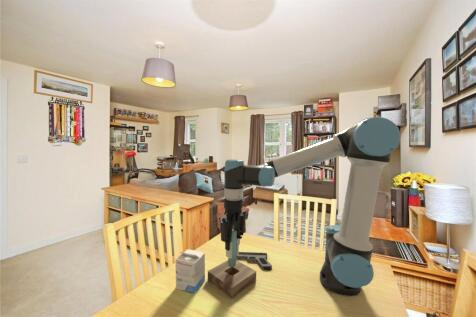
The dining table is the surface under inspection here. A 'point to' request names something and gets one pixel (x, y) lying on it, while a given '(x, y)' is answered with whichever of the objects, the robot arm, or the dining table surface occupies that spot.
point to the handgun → (256, 259)
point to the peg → (233, 249)
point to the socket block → (231, 278)
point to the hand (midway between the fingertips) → (232, 255)
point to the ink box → (190, 270)
